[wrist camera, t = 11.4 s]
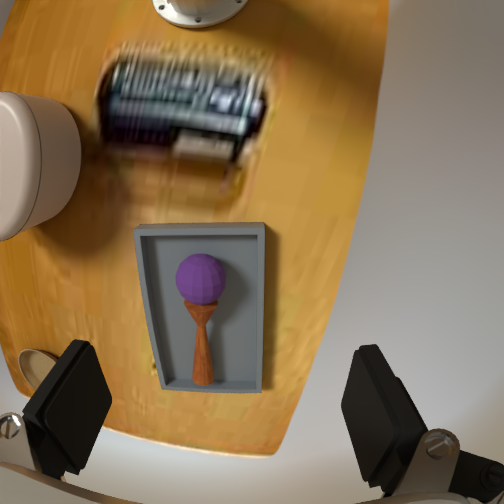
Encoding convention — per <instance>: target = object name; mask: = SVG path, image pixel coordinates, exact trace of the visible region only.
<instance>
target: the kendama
mask: <svg viewBox="0 0 504 504" xmlns="http://www.w3.org/2000/svg"><path fill="white" fill-rule="evenodd" d="M175 278H176V286H177V289H178V290H179V292H180V294H181V296H182V297H183V298H185V301H184V304H185V307H186V308H187V310H188V312H189V313H190V315H191V316H192V318H193V319H194V321H195V323H196V324H197V332H196V342H195V352H194V363H193V375H192V379H193V382H194V383H196V384H197V385H200V386H207V385H210V384H211V383H212V382H213V381H214V373H213V367H212V361H211V355H210V349H209V343H208V337H207V330H206V324H207V322H208V320H209V319H210V317H211V315H212V314H213V312H214V310H215V309H216V307H217V306H218V301H217V299H218V298H219V297H220V296H221V294H222V292H223V291H224V289H225V285H226V273H225V270H224V268H223V266H222V264H221V263H220V262H219V261H218V260H217V259H216V258H215V257H213V256H211V255H208V254H193V255H190V256H188V257H187V258H186V259H185V260H183V261H182V262H181V263H180V265H179V268H178V270H177V272H176V275H175Z"/></svg>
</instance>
